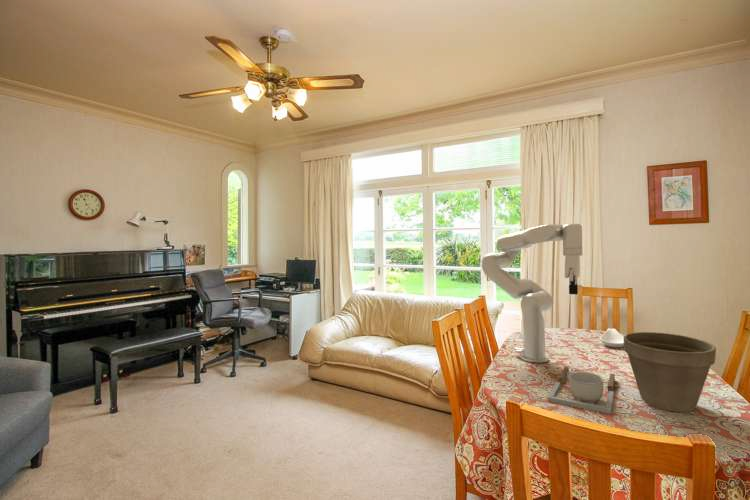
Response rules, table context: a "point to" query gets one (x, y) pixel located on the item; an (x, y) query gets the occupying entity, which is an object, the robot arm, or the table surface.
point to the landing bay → (581, 404)
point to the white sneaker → (612, 338)
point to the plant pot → (669, 368)
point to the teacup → (586, 386)
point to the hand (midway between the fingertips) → (573, 293)
